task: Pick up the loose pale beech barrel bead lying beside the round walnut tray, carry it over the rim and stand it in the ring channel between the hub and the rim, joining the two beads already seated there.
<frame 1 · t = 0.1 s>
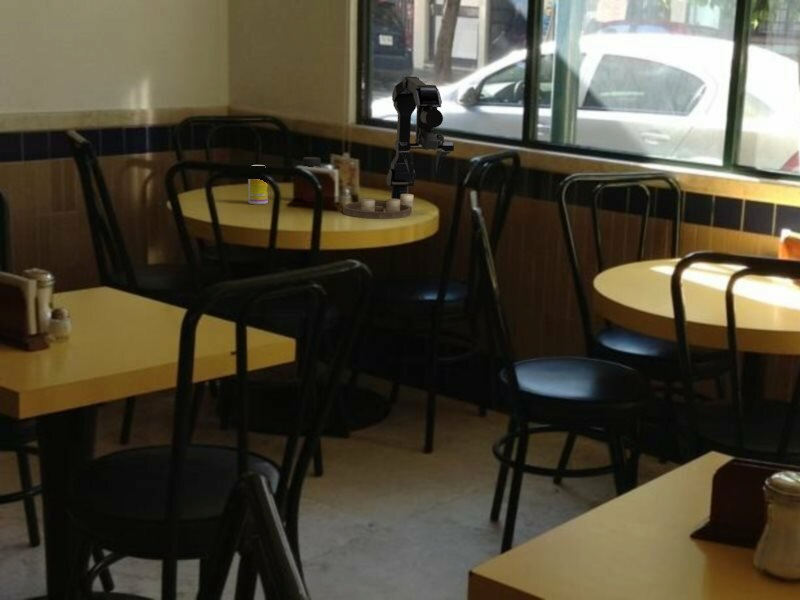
hand: (423, 172, 418), 15 cm above the table, fingers open, 9 cm apart
bead a: (392, 214, 419), point 1 cm above the table, touching tray
loose bead: (406, 209, 436), on the table
supplement bottle: (257, 204, 438), on the table
deodorant: (311, 202, 446), on the table
bead b: (367, 215, 417), point 1 cm above the table, touching tray
tray: (377, 215, 422), on the table
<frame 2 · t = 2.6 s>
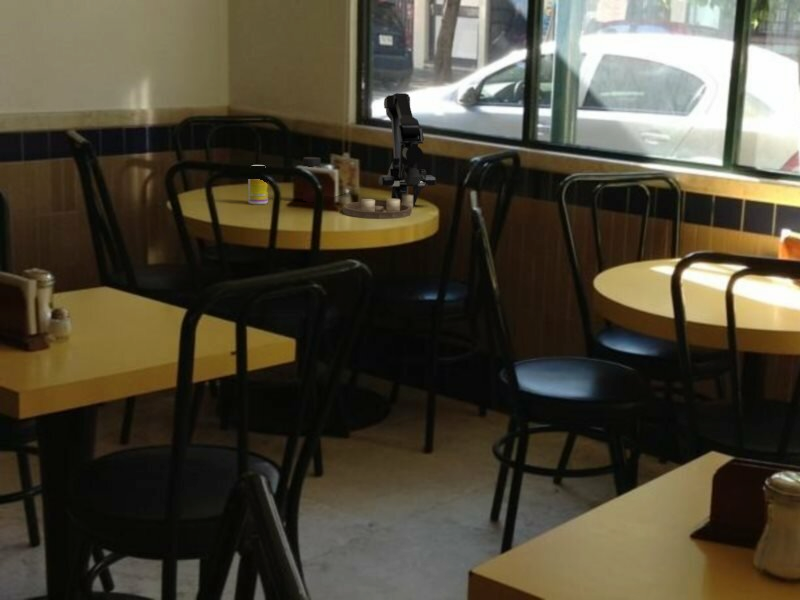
hand: (406, 205, 435), 1 cm above the table, fingers closed on loose bead, 4 cm apart
loose bead: (406, 209, 436), on the table, touching gripper
everything else where it was.
when the fingers open (4 cm above the table, at t = 6.7 s): loose bead drops 1 cm, resting on tray.
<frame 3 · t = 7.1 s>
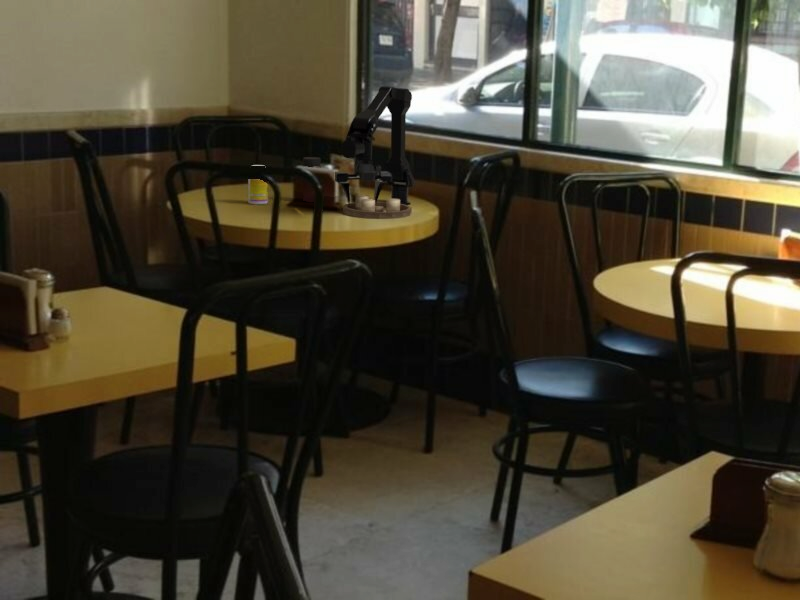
hand: (362, 202, 424), 4 cm above the table, fingers open, 9 cm apart
loose bead: (361, 211, 424), point 1 cm above the table, touching tray
everything else where it was.
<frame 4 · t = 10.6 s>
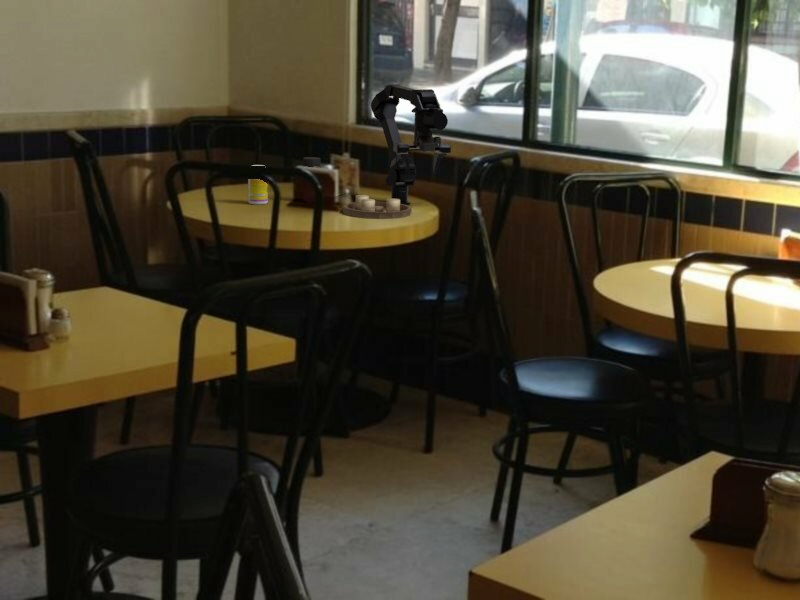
hand: (421, 173, 435), 12 cm above the table, fingers open, 9 cm apart
nothing on the table moved.
at the end: loose bead 0.1 cm from the target spot on the tray, point 0.8 cm above the tray's base; loose bead tilted 0°; the gripper is holding nothing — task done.
